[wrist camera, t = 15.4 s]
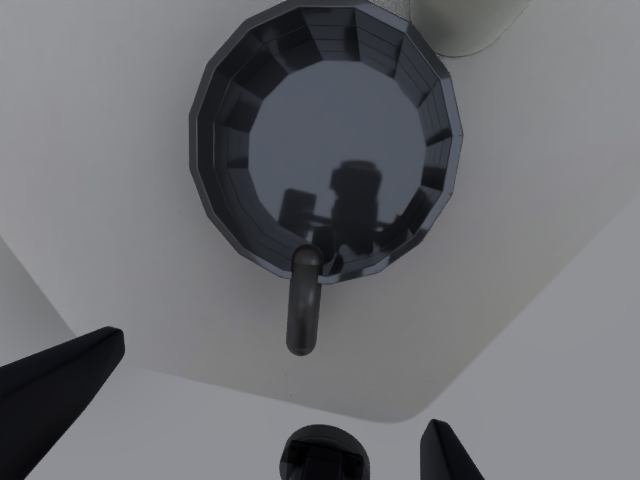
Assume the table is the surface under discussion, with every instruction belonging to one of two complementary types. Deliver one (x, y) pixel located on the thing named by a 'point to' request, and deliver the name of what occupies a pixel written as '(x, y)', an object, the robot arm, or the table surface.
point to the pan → (325, 137)
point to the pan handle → (304, 299)
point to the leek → (463, 23)
